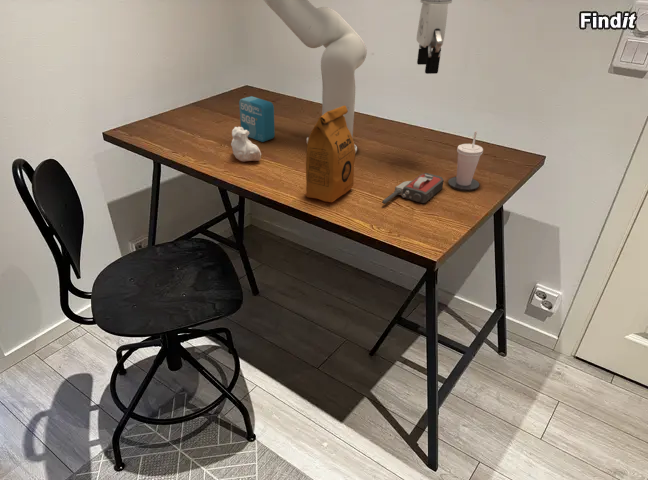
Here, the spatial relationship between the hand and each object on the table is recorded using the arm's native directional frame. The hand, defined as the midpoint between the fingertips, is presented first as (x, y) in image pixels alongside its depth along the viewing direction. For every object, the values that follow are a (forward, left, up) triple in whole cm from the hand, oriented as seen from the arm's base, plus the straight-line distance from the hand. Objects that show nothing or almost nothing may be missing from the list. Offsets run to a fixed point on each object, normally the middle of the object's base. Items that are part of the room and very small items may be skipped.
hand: (426, 68), depth 136 cm
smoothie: (+10, -15, -26) cm, 32 cm away
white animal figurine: (-50, +4, -26) cm, 57 cm away
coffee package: (-26, -20, -26) cm, 42 cm away
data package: (-47, +23, -26) cm, 59 cm away
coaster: (+10, -16, -26) cm, 32 cm away
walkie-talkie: (-5, -22, -26) cm, 35 cm away
